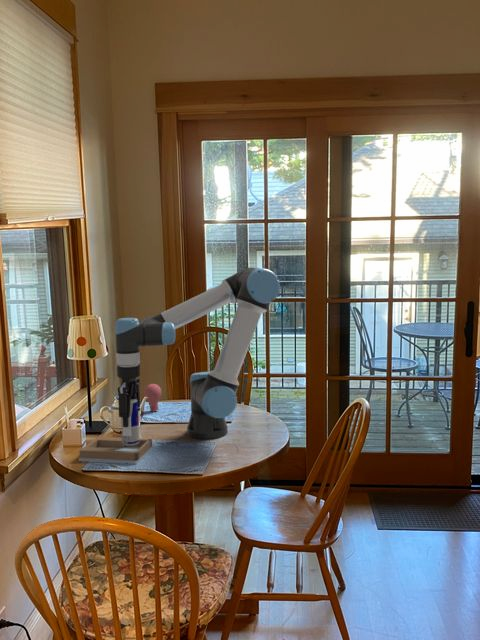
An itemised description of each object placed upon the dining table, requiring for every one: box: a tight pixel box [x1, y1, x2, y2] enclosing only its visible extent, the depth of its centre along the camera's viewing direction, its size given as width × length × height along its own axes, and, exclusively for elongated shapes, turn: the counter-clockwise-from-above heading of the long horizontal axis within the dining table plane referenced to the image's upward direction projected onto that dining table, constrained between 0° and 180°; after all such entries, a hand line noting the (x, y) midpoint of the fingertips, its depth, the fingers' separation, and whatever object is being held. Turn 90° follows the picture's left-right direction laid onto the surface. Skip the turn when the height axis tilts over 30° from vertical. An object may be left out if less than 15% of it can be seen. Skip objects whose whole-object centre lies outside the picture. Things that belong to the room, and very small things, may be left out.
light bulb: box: [144, 383, 162, 412], centre depth 244 cm, size 7×7×12 cm
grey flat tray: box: [78, 436, 154, 465], centre depth 194 cm, size 20×16×3 cm
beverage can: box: [120, 399, 140, 446], centre depth 191 cm, size 6×6×15 cm
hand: (130, 432), depth 192 cm, fingers closed on beverage can, 5 cm apart
